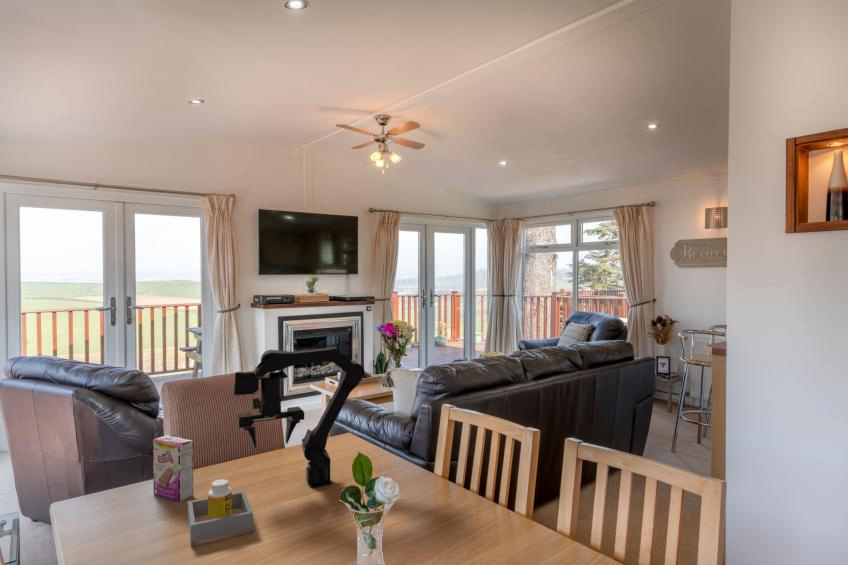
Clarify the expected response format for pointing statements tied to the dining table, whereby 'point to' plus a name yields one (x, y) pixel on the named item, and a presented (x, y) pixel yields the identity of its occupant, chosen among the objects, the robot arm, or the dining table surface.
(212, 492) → the supplement bottle
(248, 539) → the dining table surface
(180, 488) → the candy bar box
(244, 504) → the walled box
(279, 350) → the robot arm
